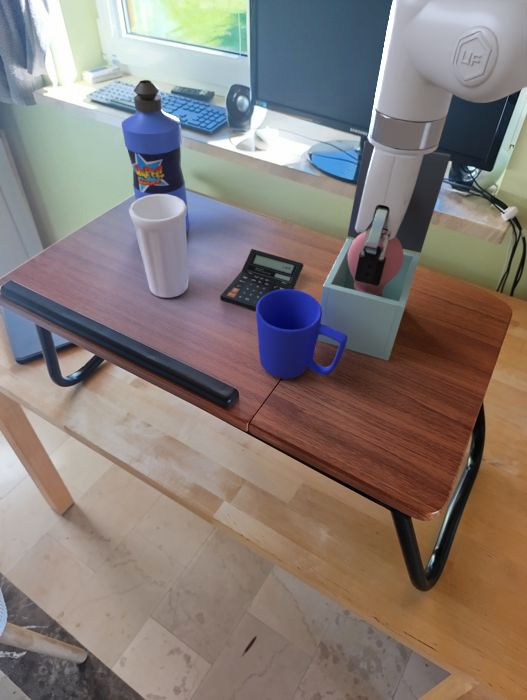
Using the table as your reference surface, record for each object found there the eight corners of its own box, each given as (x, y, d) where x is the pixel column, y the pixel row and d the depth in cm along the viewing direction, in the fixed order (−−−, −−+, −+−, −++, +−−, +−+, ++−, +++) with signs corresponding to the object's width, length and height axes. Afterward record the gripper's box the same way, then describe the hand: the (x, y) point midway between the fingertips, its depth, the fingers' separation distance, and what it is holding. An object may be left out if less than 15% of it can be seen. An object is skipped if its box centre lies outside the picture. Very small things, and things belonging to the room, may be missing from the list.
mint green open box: (388, 361, 67) (404, 307, 60) (315, 340, 69) (322, 286, 62) (403, 307, 75) (420, 254, 68) (338, 290, 78) (347, 237, 71)
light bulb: (330, 298, 69) (341, 225, 61) (370, 286, 72) (387, 214, 63) (356, 328, 65) (373, 253, 56) (399, 314, 67) (421, 241, 59)
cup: (167, 267, 81) (156, 188, 71) (204, 284, 78) (198, 204, 68) (133, 290, 76) (116, 209, 66) (171, 310, 73) (159, 228, 63)
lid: (450, 156, 59) (454, 143, 62) (364, 141, 61) (373, 129, 65) (420, 253, 68) (425, 236, 71) (347, 236, 70) (355, 221, 74)
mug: (322, 408, 61) (333, 353, 53) (243, 370, 65) (243, 315, 58) (349, 368, 66) (361, 313, 59) (273, 335, 70) (277, 281, 63)
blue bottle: (179, 243, 86) (162, 94, 69) (131, 236, 88) (103, 87, 70) (196, 218, 93) (184, 76, 75) (151, 211, 94) (130, 70, 76)
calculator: (220, 299, 75) (219, 284, 73) (252, 262, 83) (252, 247, 81) (274, 317, 73) (275, 302, 71) (302, 276, 80) (303, 262, 78)
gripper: (386, 97, 57) (361, 228, 70) (351, 151, 46) (328, 296, 58) (450, 107, 55) (412, 239, 68) (430, 166, 44) (388, 312, 57)
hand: (373, 264), depth 63 cm, fingers closed on light bulb, 7 cm apart
